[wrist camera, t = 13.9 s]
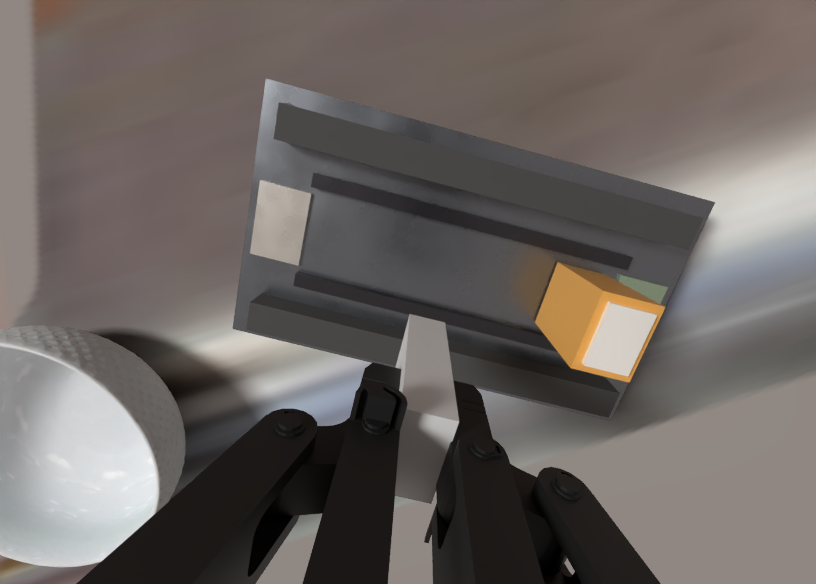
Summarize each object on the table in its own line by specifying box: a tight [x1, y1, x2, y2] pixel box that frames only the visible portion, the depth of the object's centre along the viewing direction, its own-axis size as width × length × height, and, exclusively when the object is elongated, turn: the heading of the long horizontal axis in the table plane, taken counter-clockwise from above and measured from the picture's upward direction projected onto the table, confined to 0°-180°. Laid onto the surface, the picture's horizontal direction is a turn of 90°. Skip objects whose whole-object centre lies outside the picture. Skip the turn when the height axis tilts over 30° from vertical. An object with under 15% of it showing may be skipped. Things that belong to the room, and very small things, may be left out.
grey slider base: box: [233, 79, 715, 421], centre depth 25 cm, size 15×26×4 cm, turn 76°
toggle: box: [535, 262, 665, 382], centre depth 21 cm, size 4×3×6 cm
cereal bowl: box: [0, 325, 186, 567], centre depth 27 cm, size 17×17×7 cm
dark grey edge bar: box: [246, 293, 620, 418], centre depth 25 cm, size 2×23×2 cm, turn 76°
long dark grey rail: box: [274, 102, 703, 250], centre depth 21 cm, size 2×23×2 cm, turn 75°
